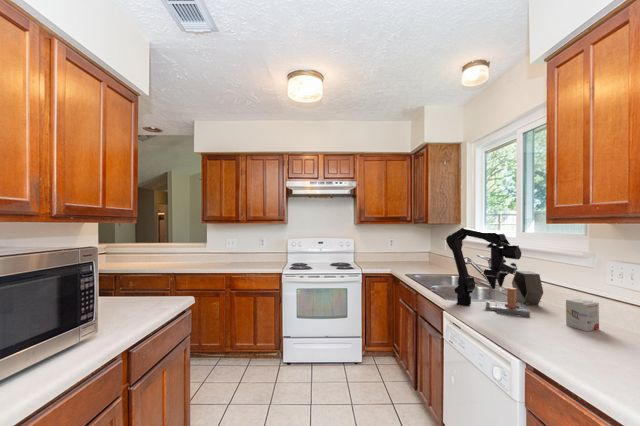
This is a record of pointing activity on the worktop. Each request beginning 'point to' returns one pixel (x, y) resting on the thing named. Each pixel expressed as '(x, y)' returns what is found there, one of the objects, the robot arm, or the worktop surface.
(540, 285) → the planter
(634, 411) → the worktop surface
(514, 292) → the wedge pin
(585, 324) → the ink box
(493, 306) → the bracket
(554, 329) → the worktop surface
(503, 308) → the grey square frame
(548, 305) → the worktop surface
